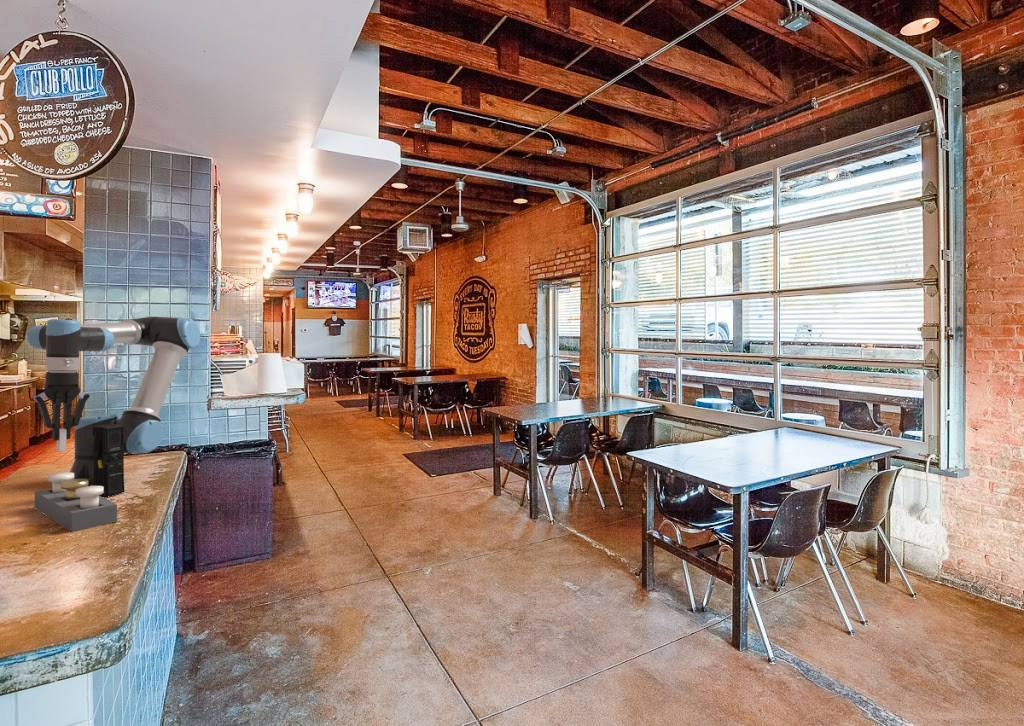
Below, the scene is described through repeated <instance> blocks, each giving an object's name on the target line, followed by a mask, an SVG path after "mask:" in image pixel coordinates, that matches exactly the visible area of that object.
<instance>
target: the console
mask: <svg viewBox="0 0 1024 726" xmlns="http://www.w3.org/2000/svg"><path fill="white" fill-rule="evenodd" d="M35 508H36V509H35ZM34 509H35V510H37V511H38V510H39V511H38V512H40V513H41V512H42V513H41V514H43V513H44V514H45V516H46V515H47V516H46V517H48V518H49V517H50V518H49V519H51V520H53V521H54V522H55V523H58V524H59V525H61V526H62V527H63V528H65V529H67V530H68V531H70V532H71V531H72V532H73V531H74V532H78V531H82V529H83V530H86V529H91V528H92V529H93V528H95V527H96V526H97V527H100V525H101V526H105V525H104V524H106V525H110V524H113V523H112V522H115V523H118V504H117V503H115V502H114V501H112V500H109V499H107V498H103V497H101V496H99V506H98V507H93V508H88V509H83V510H82V509H80V499H78V500H72V501H66V492H61V493H55V494H53V493H52V488H47V489H42V490H35V491H34ZM44 514H43V515H44ZM109 523H110V524H109ZM77 530H78V531H77Z"/></svg>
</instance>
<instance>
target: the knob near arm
mask: <svg viewBox="0 0 1024 726" xmlns="http://www.w3.org/2000/svg"><path fill="white" fill-rule="evenodd" d="M72 479H74V473H71V472H70V471H69V472H68V471H65V472H56V473H52V474H49V475H47V482H48V483H51V485H52V486H51V487H52V488H51V489H52V493H53V494H55V493H61V492H66V490H65V489H61V482H63V481H67V480H72Z"/></svg>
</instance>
